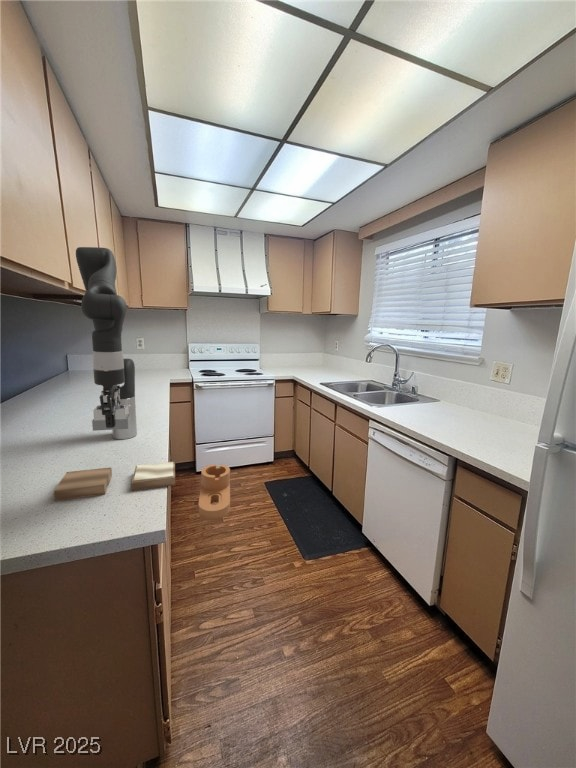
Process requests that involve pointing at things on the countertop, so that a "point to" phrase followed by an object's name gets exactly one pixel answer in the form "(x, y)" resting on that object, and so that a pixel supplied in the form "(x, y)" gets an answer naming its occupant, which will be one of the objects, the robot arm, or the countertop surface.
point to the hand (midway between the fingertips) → (112, 423)
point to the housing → (120, 418)
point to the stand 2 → (153, 476)
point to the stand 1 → (83, 483)
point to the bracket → (214, 492)
